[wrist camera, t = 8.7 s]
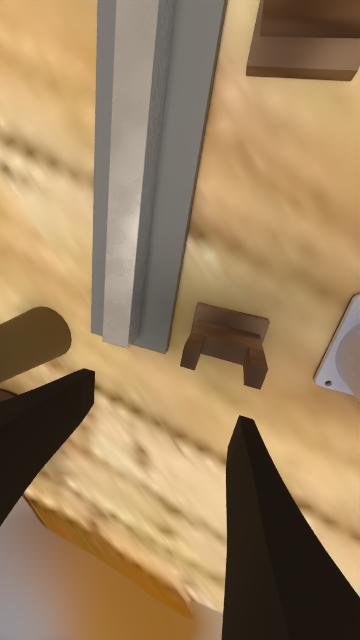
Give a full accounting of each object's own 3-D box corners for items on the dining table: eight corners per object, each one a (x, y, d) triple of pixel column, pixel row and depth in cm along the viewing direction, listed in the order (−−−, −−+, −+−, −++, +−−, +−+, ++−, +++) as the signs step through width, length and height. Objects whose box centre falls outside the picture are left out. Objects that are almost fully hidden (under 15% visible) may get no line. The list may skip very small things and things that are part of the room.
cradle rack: (386, -23, 11) (542, -303, 5) (254, 359, 19) (260, 407, 14) (266, -20, 12) (291, -253, 6) (189, 342, 20) (171, 379, 15)
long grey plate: (237, -60, 12) (237, -80, 11) (167, 350, 21) (165, 354, 21) (106, -53, 13) (99, -70, 13) (95, 329, 23) (90, 332, 22)
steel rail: (181, -47, 12) (168, -112, 10) (139, 337, 21) (127, 348, 19) (141, -45, 12) (120, -107, 10) (116, 331, 21) (102, 341, 19)
